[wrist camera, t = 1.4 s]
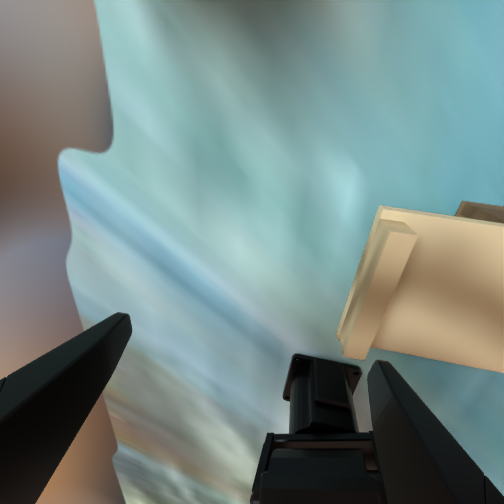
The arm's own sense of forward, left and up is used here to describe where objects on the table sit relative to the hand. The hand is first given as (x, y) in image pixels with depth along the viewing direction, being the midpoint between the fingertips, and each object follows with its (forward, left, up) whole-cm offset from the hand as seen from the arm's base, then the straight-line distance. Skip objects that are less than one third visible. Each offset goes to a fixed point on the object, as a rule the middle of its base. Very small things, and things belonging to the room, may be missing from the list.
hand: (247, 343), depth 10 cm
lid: (-1, -11, -8) cm, 13 cm away
